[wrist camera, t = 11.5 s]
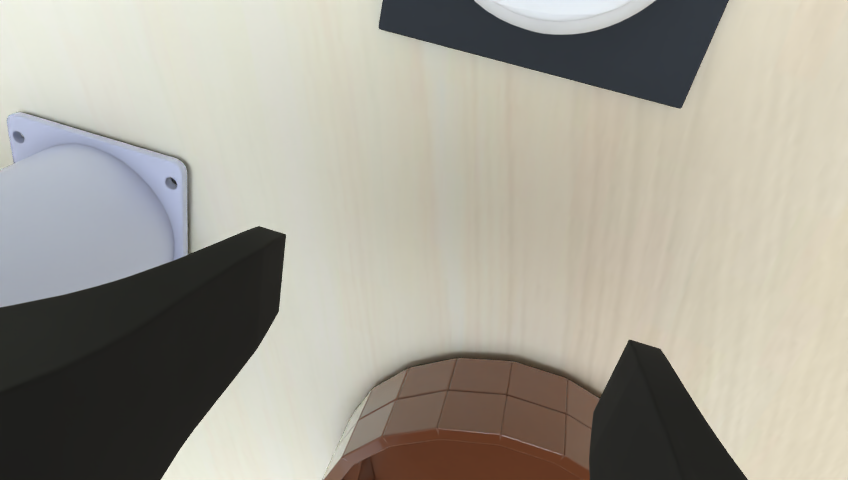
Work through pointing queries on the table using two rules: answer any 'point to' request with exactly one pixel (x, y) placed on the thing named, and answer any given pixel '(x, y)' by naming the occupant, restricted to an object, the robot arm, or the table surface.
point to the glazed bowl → (468, 425)
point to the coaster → (577, 43)
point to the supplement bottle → (563, 13)
